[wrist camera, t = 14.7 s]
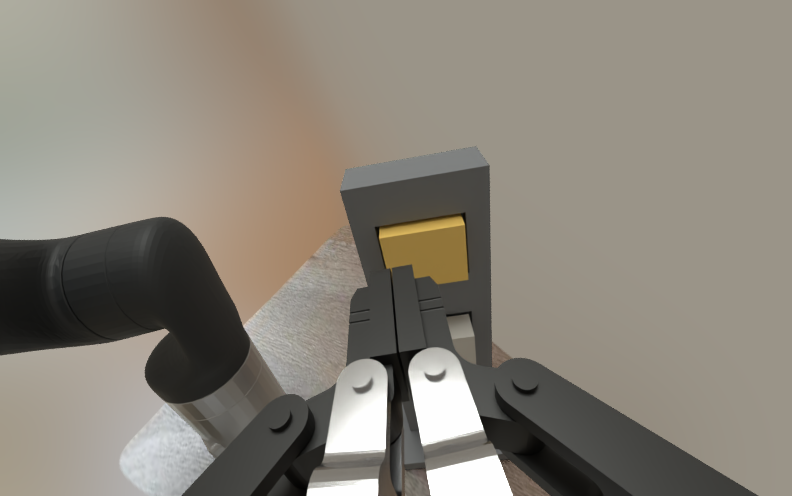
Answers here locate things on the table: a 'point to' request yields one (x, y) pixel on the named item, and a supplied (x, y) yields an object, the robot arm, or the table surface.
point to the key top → (428, 247)
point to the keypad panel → (420, 199)
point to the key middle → (463, 336)
